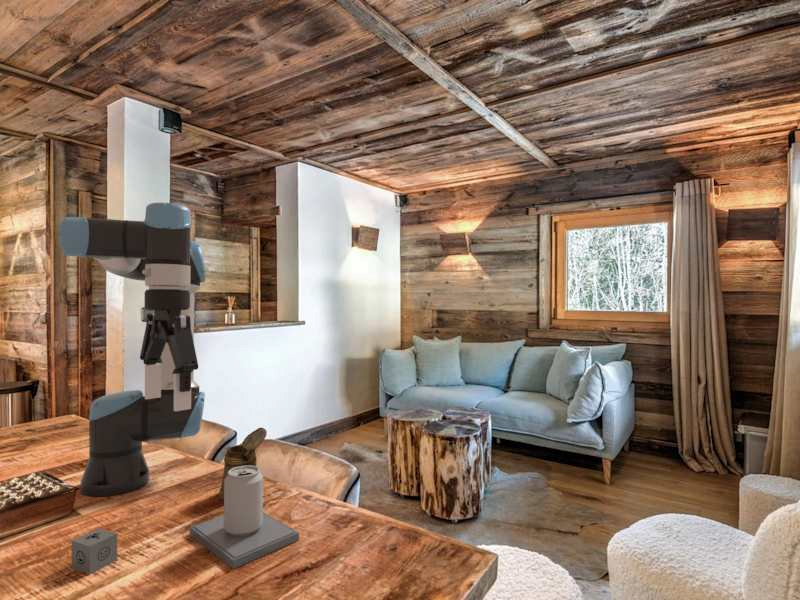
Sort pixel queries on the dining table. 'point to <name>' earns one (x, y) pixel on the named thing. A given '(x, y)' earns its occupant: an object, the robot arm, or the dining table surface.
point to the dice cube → (94, 551)
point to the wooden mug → (242, 454)
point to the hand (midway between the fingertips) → (166, 403)
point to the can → (243, 500)
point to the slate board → (243, 540)
